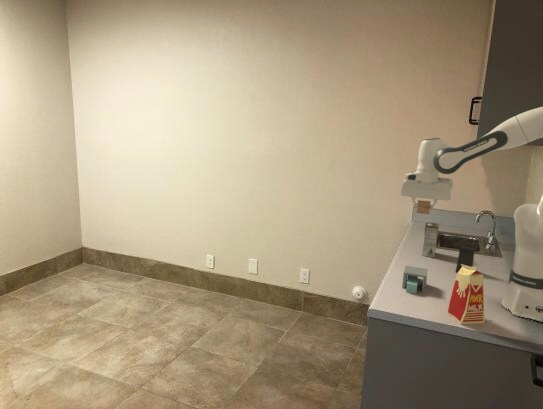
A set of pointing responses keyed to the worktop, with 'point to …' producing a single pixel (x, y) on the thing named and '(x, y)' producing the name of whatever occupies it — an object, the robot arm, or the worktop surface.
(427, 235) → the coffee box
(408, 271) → the tunnel
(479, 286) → the milk carton
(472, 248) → the phone stand
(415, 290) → the bar
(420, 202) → the cube
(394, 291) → the worktop surface
